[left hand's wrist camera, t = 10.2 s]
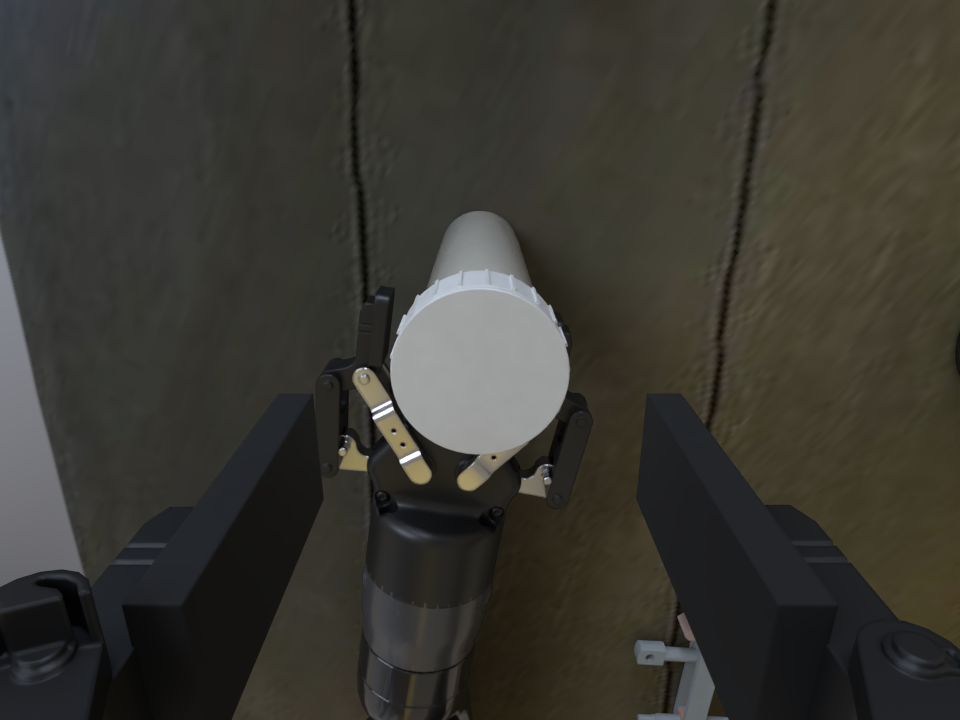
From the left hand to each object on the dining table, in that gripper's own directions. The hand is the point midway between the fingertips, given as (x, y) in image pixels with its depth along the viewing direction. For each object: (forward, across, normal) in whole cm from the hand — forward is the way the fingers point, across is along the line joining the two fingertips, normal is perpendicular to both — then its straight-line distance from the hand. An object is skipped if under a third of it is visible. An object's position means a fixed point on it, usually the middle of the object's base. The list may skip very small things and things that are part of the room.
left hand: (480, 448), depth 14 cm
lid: (+5, 0, 0) cm, 5 cm away
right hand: (+18, 0, +1) cm, 18 cm away
